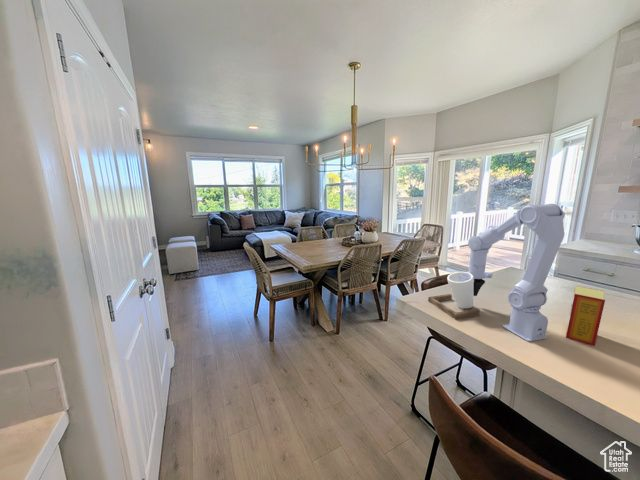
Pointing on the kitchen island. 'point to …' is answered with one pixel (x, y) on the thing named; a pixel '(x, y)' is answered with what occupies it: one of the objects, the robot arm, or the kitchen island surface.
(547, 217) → the robot arm
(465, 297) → the foam cup
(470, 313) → the walnut corral
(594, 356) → the kitchen island surface
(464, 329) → the kitchen island surface
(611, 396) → the kitchen island surface
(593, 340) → the baking soda box
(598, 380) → the kitchen island surface
